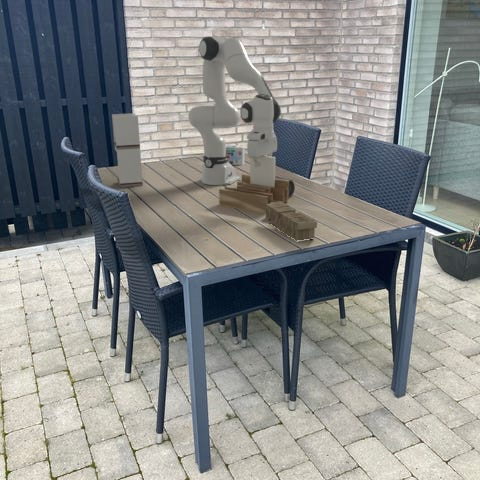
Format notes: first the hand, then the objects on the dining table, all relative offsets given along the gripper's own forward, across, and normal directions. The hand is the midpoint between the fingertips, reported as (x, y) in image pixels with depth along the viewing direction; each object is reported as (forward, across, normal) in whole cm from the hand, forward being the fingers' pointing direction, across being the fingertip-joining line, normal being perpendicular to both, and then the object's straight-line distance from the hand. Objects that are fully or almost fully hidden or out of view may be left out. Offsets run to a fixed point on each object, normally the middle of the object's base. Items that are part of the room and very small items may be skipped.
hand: (262, 164), depth 231 cm
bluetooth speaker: (+18, -13, -3) cm, 22 cm away
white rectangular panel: (+16, 0, 0) cm, 16 cm away
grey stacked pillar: (+18, +7, -75) cm, 77 cm away
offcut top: (+11, +7, 0) cm, 13 cm away
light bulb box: (+17, -63, -56) cm, 86 cm away
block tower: (+18, +26, +27) cm, 42 cm away
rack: (+18, +7, 0) cm, 19 cm away
